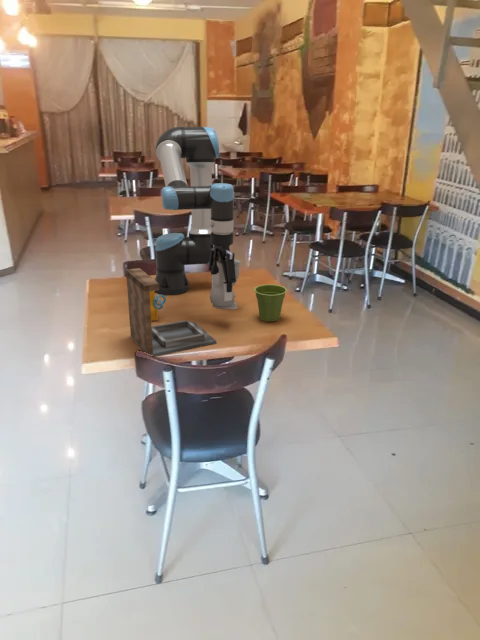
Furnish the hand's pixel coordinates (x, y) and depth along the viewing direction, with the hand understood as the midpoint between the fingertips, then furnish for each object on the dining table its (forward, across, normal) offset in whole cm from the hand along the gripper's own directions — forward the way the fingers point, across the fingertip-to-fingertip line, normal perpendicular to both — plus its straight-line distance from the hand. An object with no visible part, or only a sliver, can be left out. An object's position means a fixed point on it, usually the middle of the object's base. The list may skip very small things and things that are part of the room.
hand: (221, 296), depth 175 cm
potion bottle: (+4, 0, 0) cm, 4 cm away
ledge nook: (+10, +6, -21) cm, 24 cm away
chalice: (+11, -13, +11) cm, 20 cm away
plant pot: (+11, +4, +18) cm, 21 cm away
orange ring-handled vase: (+11, -15, -21) cm, 28 cm away
